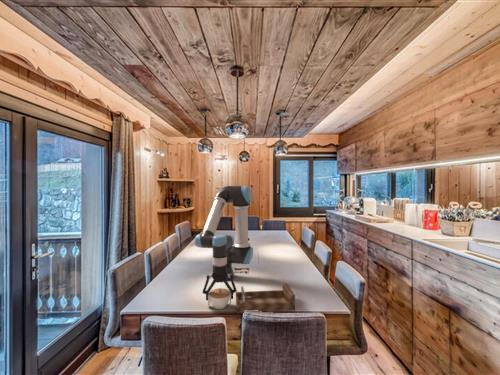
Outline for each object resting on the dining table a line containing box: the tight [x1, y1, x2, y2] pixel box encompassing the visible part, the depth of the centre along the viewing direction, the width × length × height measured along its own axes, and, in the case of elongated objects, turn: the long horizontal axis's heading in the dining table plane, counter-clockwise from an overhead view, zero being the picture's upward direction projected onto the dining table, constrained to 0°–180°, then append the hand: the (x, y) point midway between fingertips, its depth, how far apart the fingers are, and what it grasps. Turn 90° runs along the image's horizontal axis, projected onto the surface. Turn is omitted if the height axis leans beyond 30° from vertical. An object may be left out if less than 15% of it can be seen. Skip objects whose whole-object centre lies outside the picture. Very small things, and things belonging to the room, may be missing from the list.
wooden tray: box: [235, 282, 296, 314], centre depth 142 cm, size 30×16×8 cm, turn 96°
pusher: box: [240, 286, 251, 304], centre depth 141 cm, size 5×13×7 cm, turn 6°
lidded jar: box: [209, 287, 230, 310], centre depth 139 cm, size 11×11×9 cm
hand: (219, 305), depth 139 cm, fingers closed on lidded jar, 11 cm apart
